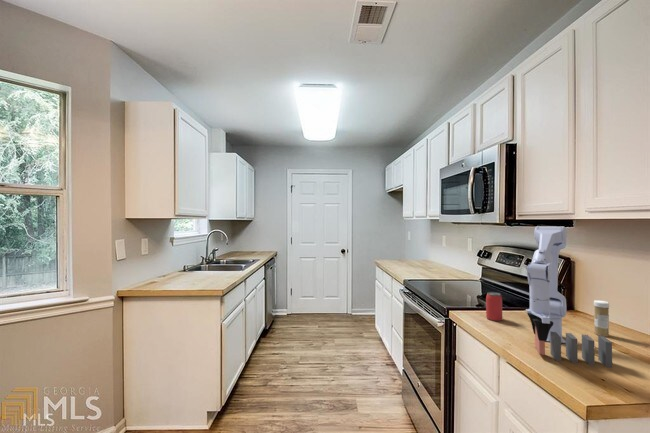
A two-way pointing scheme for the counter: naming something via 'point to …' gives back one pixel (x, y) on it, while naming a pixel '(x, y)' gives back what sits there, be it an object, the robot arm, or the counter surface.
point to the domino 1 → (555, 346)
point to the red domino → (539, 344)
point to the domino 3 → (588, 349)
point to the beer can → (494, 306)
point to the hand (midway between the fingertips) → (539, 337)
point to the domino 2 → (571, 348)
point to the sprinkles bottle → (601, 318)
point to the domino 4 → (605, 351)
